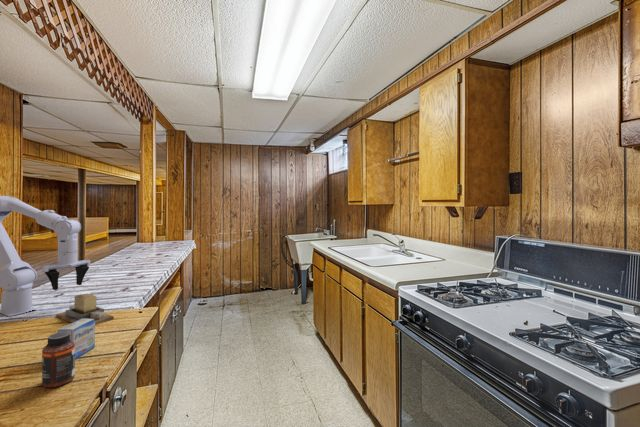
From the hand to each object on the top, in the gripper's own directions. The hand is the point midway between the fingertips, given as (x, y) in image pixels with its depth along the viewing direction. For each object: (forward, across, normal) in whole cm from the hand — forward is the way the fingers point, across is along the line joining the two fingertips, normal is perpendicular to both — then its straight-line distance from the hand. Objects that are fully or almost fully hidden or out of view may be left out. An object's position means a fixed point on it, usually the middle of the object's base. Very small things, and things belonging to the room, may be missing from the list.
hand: (67, 287), depth 115 cm
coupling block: (+8, 0, -12) cm, 15 cm away
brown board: (+9, 0, -12) cm, 15 cm away
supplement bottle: (+10, -24, -49) cm, 55 cm away
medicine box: (+10, -15, -38) cm, 42 cm away
